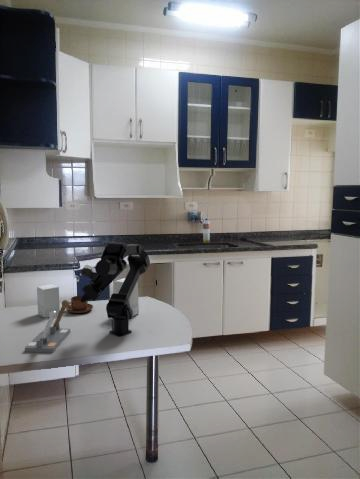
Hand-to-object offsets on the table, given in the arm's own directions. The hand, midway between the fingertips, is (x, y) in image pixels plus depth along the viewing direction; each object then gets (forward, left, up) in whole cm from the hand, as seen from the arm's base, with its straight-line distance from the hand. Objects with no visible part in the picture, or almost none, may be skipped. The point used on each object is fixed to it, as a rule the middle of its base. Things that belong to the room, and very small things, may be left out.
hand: (81, 301), depth 157 cm
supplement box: (+32, -4, -14) cm, 35 cm away
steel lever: (0, +17, -11) cm, 20 cm away
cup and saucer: (+26, -16, -14) cm, 34 cm away
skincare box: (+7, -28, -14) cm, 32 cm away
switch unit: (+4, +12, -14) cm, 18 cm away
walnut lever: (+8, +7, -11) cm, 15 cm away
